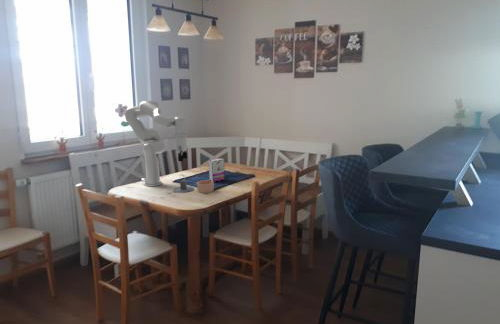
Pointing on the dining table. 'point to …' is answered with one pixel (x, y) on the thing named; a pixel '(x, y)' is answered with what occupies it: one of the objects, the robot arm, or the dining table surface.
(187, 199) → the dining table surface
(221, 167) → the candy bar box
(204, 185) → the bowl
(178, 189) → the lid
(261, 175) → the dining table surface
